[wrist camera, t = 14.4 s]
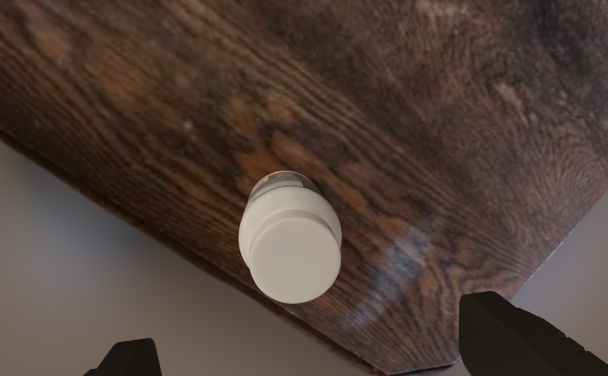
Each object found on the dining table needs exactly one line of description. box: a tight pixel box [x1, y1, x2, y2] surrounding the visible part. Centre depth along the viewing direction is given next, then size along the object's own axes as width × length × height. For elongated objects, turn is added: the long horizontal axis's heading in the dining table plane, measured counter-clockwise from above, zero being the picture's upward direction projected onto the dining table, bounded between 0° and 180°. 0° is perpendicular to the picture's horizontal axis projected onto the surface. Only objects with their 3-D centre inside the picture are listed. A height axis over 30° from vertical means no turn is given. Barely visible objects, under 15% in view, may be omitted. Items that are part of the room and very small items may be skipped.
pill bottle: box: [239, 171, 342, 304], centre depth 18 cm, size 5×5×10 cm
